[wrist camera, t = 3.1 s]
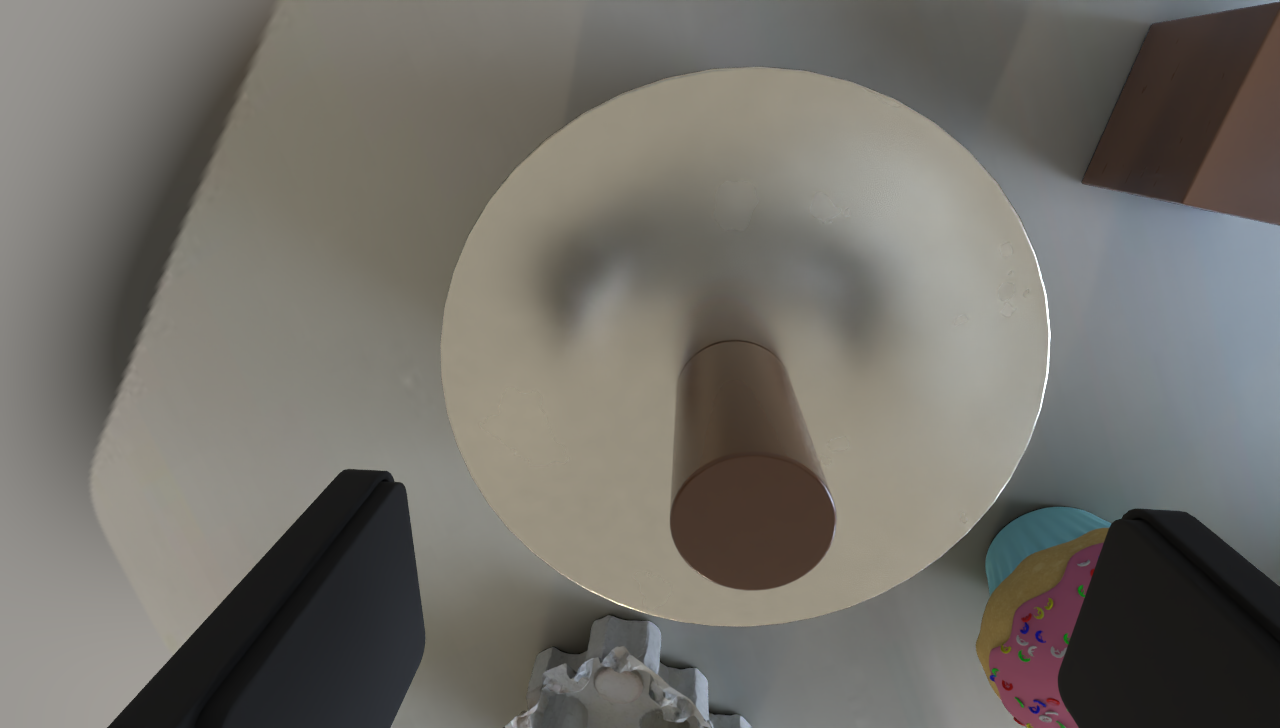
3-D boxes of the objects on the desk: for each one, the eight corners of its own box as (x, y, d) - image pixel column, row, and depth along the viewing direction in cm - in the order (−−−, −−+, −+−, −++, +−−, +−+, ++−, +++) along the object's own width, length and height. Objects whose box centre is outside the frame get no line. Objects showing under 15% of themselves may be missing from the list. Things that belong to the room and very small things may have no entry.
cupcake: (961, 457, 24) (1185, 752, 13) (1199, 468, 24) (1639, 784, 13) (921, 635, 28) (1076, 992, 17) (1131, 648, 27) (1436, 1026, 16)
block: (1305, 56, 19) (1483, 43, 15) (1221, 213, 21) (1359, 242, 16) (1151, 23, 19) (1284, 0, 15) (1080, 183, 21) (1181, 204, 16)
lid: (1159, 290, 15) (1466, 413, 9) (792, 668, 19) (835, 908, 14) (636, -75, 13) (590, -222, 7) (373, 443, 17) (218, 610, 12)
